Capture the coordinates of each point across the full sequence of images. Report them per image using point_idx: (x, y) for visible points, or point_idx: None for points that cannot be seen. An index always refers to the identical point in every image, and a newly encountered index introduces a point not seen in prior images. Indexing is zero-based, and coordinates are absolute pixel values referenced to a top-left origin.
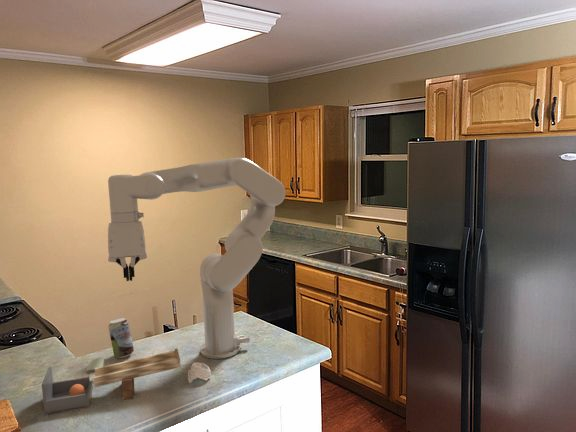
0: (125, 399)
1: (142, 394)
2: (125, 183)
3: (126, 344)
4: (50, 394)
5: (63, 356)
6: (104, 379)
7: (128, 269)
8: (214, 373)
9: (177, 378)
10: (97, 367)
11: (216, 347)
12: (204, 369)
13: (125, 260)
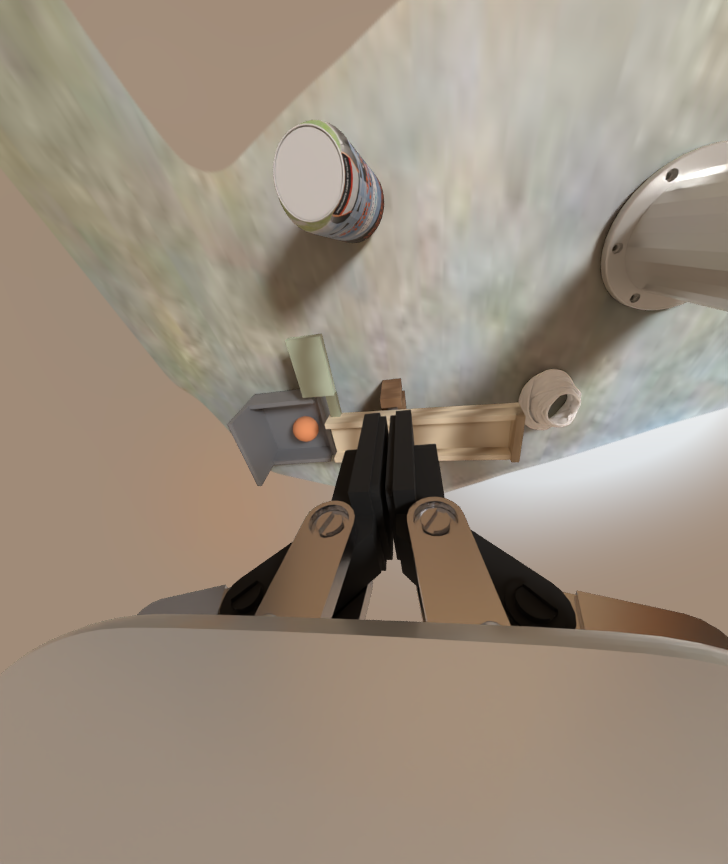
0: None
1: None
2: None
3: (363, 231)
4: (263, 429)
5: (155, 159)
6: None
7: (383, 479)
8: (586, 385)
9: (497, 387)
10: (322, 392)
11: (661, 295)
12: (564, 425)
13: (342, 568)
